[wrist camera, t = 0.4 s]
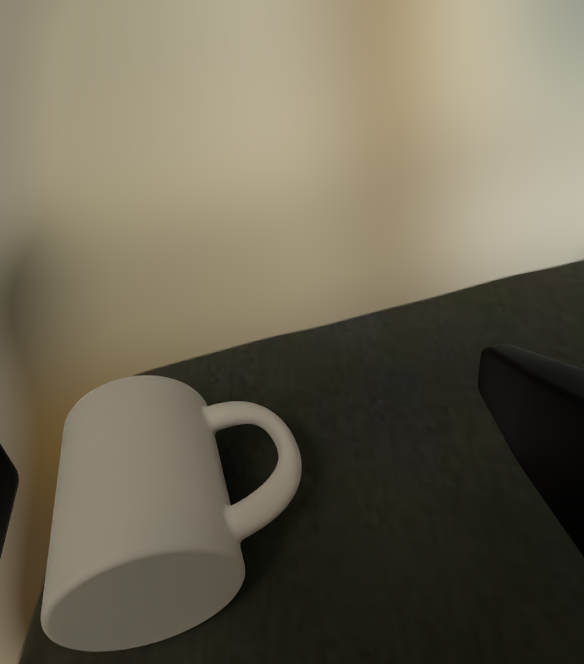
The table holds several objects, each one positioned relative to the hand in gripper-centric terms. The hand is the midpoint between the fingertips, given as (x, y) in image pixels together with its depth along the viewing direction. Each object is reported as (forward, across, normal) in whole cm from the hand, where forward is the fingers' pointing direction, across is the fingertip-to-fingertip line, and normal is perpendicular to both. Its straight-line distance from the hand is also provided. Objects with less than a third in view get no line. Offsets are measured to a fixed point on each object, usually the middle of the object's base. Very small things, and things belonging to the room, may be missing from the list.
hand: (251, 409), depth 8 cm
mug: (+10, +4, +16) cm, 19 cm away
